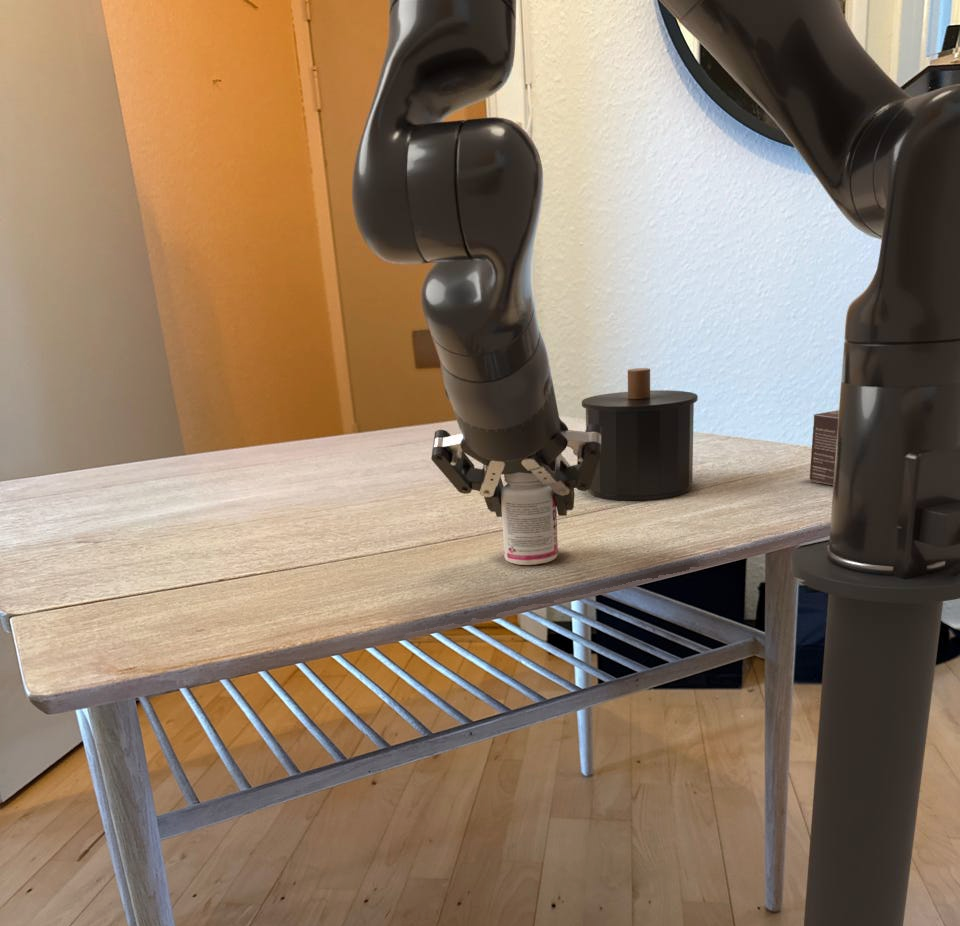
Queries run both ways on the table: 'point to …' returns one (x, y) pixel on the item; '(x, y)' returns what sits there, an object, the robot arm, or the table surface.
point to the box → (824, 447)
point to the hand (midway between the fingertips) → (532, 507)
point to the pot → (643, 453)
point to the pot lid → (639, 396)
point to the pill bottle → (528, 520)
